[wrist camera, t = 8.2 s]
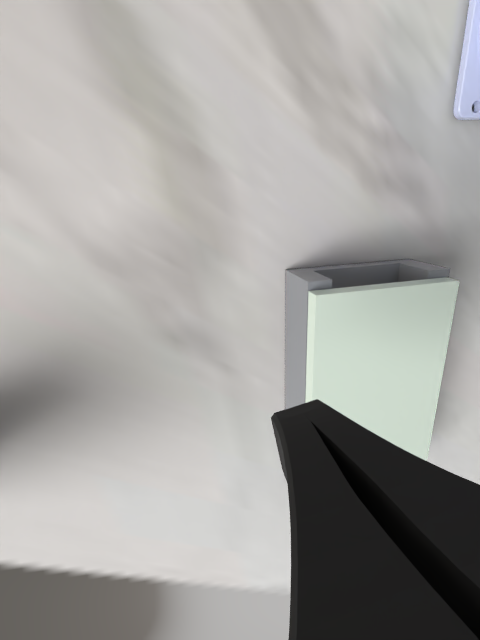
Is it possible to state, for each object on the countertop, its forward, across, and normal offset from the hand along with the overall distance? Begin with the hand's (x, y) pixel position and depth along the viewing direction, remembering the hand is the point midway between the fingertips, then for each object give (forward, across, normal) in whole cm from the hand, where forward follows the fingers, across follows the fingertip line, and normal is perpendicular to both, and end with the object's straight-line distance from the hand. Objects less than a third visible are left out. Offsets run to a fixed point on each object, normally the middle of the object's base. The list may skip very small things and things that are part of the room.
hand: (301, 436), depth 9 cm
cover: (+7, -6, +6) cm, 11 cm away
